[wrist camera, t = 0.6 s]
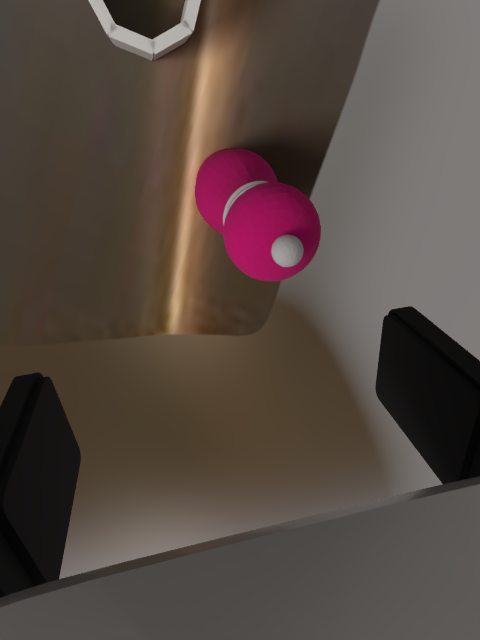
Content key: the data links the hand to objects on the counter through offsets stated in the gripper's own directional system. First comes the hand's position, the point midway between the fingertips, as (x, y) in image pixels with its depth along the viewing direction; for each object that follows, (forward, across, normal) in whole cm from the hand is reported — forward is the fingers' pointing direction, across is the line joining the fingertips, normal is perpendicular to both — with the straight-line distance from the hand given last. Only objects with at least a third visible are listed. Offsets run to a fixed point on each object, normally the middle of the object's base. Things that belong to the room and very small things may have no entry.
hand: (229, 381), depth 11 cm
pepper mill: (+31, -5, +1) cm, 31 cm away
